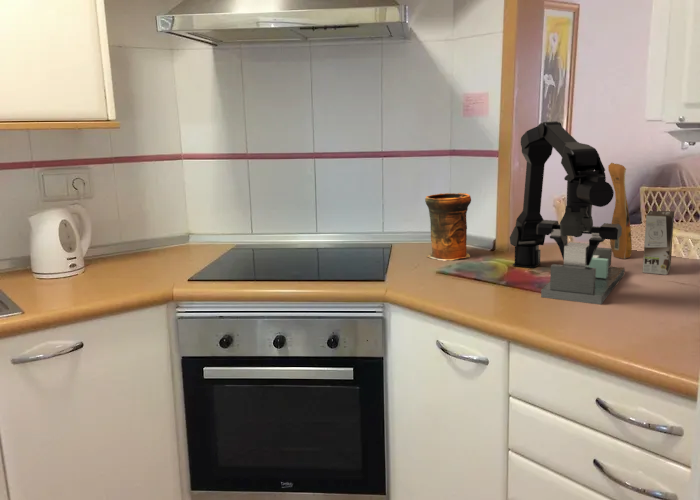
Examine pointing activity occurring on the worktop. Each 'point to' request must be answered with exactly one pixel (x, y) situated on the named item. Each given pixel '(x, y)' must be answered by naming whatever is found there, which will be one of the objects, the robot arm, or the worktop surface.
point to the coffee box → (658, 242)
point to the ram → (601, 261)
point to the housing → (576, 254)
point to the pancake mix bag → (620, 213)
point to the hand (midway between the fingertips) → (576, 263)
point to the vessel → (448, 225)
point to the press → (580, 283)
